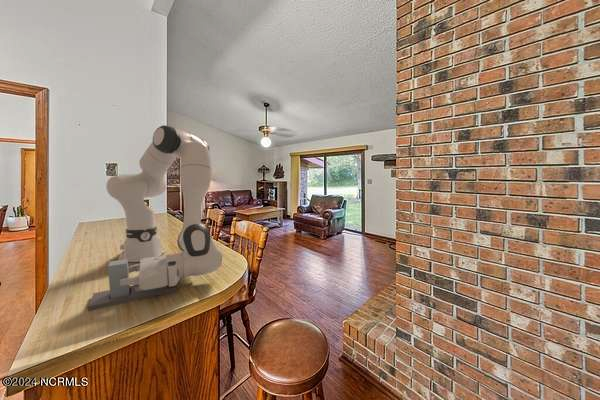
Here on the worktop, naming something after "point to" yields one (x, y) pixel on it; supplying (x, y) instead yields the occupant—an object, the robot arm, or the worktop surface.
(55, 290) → the worktop surface
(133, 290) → the power strip
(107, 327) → the worktop surface
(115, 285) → the grey rectangular block
